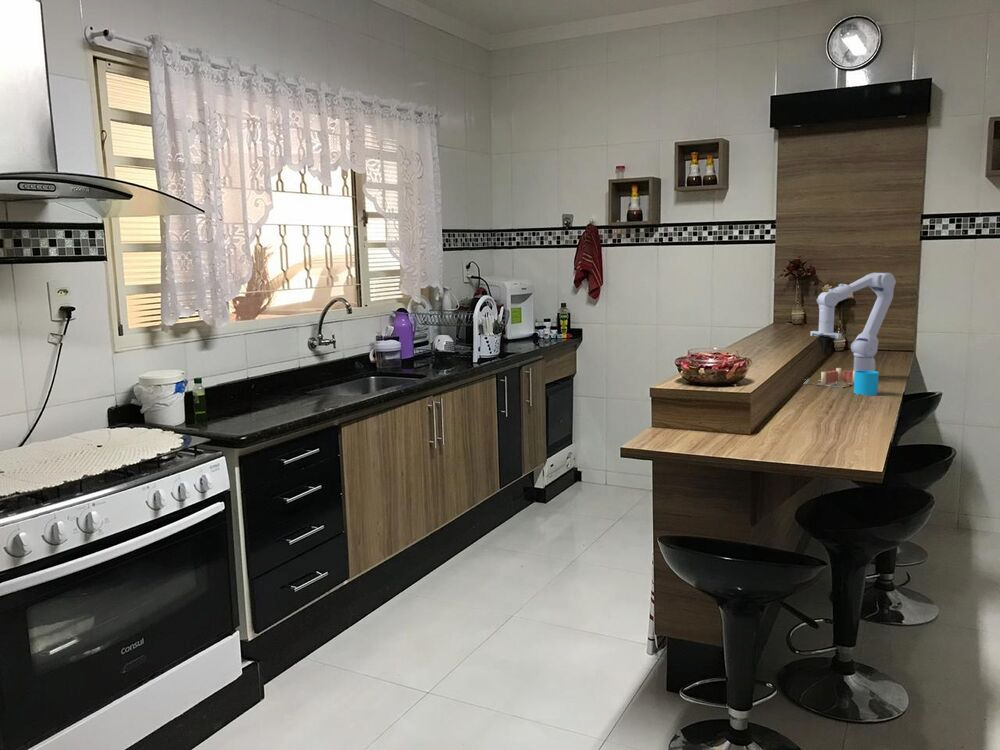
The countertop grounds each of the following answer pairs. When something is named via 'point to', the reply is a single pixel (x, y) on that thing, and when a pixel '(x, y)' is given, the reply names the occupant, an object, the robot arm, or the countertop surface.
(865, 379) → the mug
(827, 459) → the countertop surface
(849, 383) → the board
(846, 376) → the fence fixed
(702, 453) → the countertop surface
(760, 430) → the countertop surface
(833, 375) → the fence panel
